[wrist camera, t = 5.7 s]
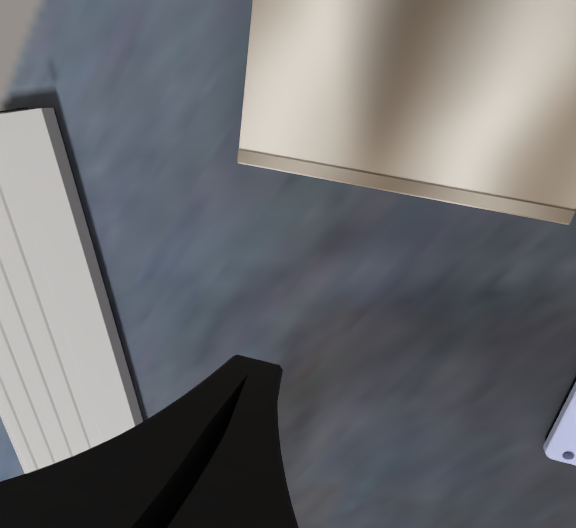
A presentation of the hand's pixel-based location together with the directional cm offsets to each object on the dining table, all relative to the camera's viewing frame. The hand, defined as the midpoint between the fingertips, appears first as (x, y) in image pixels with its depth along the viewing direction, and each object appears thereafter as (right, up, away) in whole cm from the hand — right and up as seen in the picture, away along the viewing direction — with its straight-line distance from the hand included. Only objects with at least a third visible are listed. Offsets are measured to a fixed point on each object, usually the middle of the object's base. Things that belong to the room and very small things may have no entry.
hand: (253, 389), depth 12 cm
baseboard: (-14, -3, +16) cm, 21 cm away
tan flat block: (+6, +10, +5) cm, 13 cm away
